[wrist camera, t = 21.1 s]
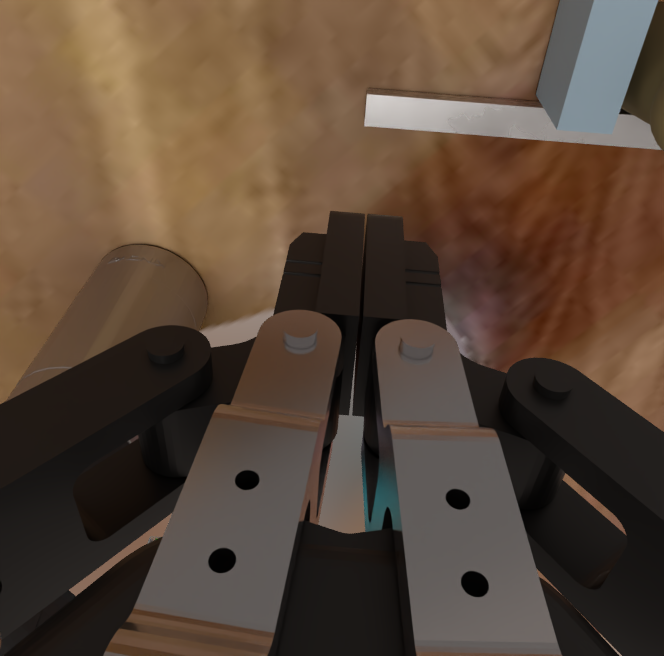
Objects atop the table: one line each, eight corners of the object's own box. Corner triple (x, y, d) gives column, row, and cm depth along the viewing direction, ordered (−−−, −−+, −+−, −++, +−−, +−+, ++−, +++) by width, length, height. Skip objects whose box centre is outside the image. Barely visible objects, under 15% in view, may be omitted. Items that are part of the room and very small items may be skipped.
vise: (710, 146, 40) (754, 187, 35) (364, 119, 40) (362, 155, 36) (842, -144, 31) (925, -141, 26) (391, -176, 31) (392, -179, 26)
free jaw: (585, 98, 38) (613, 134, 34) (535, 94, 38) (556, 129, 34) (645, -96, 32) (689, -85, 27) (585, -101, 32) (620, -90, 28)
